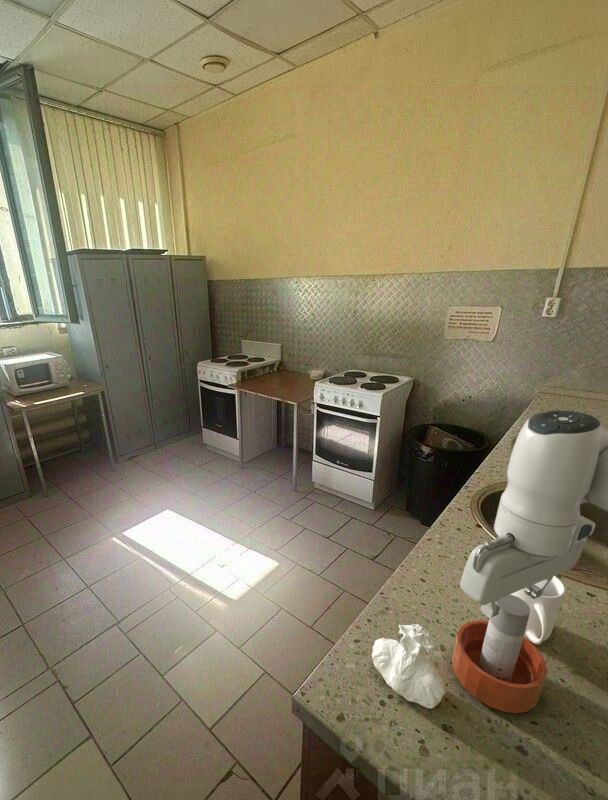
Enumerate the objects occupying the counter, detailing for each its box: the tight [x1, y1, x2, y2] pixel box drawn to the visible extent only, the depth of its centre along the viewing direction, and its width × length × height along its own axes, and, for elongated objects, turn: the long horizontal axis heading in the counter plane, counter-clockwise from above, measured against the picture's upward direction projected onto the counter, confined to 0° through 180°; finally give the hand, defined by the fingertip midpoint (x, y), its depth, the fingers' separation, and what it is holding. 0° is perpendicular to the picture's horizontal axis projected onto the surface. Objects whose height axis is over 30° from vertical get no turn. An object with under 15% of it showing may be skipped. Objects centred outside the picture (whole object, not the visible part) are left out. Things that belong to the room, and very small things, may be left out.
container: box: [478, 595, 530, 683], centre depth 62 cm, size 5×5×15 cm
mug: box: [510, 575, 566, 646], centre depth 71 cm, size 9×12×11 cm
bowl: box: [451, 619, 548, 714], centre depth 64 cm, size 12×12×6 cm
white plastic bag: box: [371, 623, 447, 710], centre depth 63 cm, size 12×8×11 cm
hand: (511, 604), depth 59 cm, fingers open, 8 cm apart
